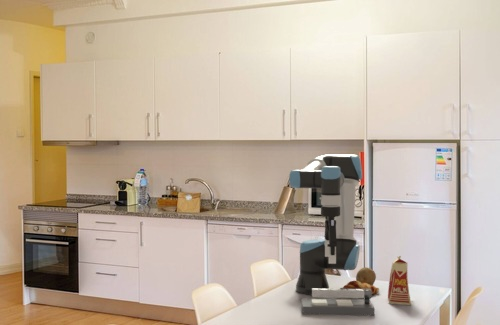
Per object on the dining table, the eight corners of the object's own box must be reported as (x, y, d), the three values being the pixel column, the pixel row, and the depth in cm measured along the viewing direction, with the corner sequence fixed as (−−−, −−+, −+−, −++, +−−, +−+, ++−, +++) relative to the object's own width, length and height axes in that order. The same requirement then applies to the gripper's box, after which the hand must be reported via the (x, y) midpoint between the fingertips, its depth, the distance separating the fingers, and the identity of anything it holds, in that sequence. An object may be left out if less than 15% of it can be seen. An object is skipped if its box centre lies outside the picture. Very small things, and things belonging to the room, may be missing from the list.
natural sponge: (364, 292, 255) (364, 270, 255) (351, 287, 263) (352, 266, 263) (379, 289, 260) (379, 268, 260) (366, 285, 268) (367, 264, 267)
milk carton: (411, 305, 235) (411, 257, 234) (388, 303, 236) (388, 256, 236) (409, 299, 244) (410, 253, 243) (387, 298, 245) (388, 252, 245)
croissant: (374, 299, 256) (370, 282, 260) (386, 293, 248) (381, 276, 251) (333, 302, 249) (330, 284, 253) (343, 297, 241) (340, 278, 244)
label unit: (301, 305, 233) (301, 293, 233) (369, 306, 232) (369, 294, 232) (302, 314, 221) (302, 301, 221) (374, 315, 220) (374, 302, 220)
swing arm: (311, 295, 229) (311, 287, 229) (370, 296, 227) (370, 288, 227) (312, 297, 225) (312, 290, 225) (372, 298, 224) (372, 291, 224)
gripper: (318, 202, 232) (317, 253, 232) (324, 209, 207) (323, 266, 207) (336, 202, 231) (336, 253, 232) (344, 209, 206) (344, 266, 207)
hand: (330, 260), depth 220 cm, fingers open, 13 cm apart
